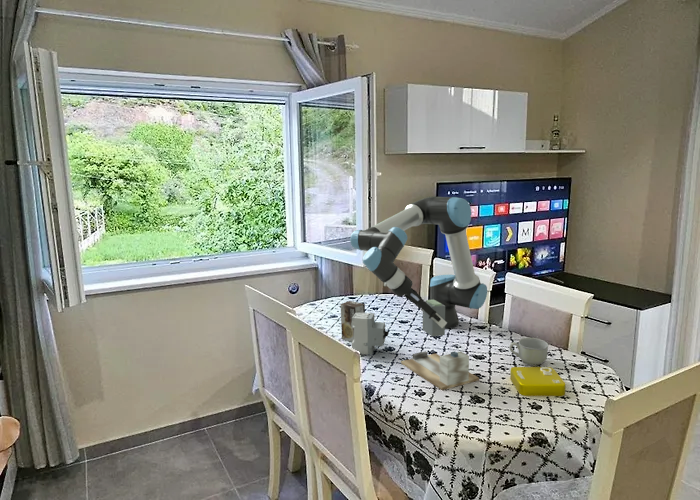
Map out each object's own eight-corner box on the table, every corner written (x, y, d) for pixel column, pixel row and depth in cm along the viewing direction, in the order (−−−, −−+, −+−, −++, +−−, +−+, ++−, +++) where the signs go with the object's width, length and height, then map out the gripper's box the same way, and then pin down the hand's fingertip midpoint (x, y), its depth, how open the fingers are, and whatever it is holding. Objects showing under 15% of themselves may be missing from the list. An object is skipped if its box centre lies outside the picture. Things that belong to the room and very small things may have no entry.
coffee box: (366, 339, 222) (365, 303, 219) (356, 343, 218) (355, 307, 215) (350, 335, 228) (350, 300, 226) (340, 338, 224) (340, 303, 221)
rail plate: (435, 355, 202) (435, 328, 200) (479, 380, 179) (479, 350, 177) (401, 363, 196) (401, 335, 194) (441, 390, 173) (442, 359, 171)
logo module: (434, 328, 193) (434, 298, 191) (444, 335, 185) (445, 304, 183) (422, 329, 191) (422, 299, 189) (432, 336, 184) (432, 305, 182)
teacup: (547, 358, 197) (547, 338, 196) (547, 369, 187) (549, 348, 186) (509, 354, 202) (510, 335, 200) (508, 365, 192) (509, 345, 190)
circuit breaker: (387, 355, 204) (386, 319, 201) (352, 353, 207) (351, 318, 204) (389, 348, 211) (389, 313, 208) (355, 346, 214) (354, 312, 211)
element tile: (508, 377, 182) (509, 365, 181) (551, 377, 181) (552, 365, 180) (520, 397, 167) (520, 383, 166) (567, 397, 166) (567, 383, 166)
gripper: (382, 283, 192) (422, 320, 198) (400, 297, 172) (444, 338, 178) (395, 268, 192) (435, 306, 198) (415, 281, 172) (458, 322, 178)
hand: (439, 321), depth 188 cm, fingers closed on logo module, 8 cm apart
